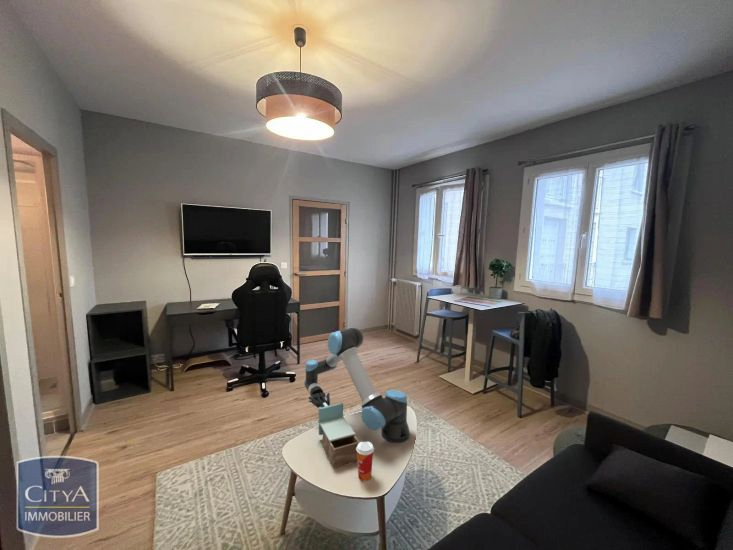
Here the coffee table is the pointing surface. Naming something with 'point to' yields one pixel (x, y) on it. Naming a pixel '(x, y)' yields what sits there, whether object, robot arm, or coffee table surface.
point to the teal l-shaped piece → (334, 423)
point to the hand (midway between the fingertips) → (327, 410)
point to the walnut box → (341, 450)
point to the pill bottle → (364, 460)
